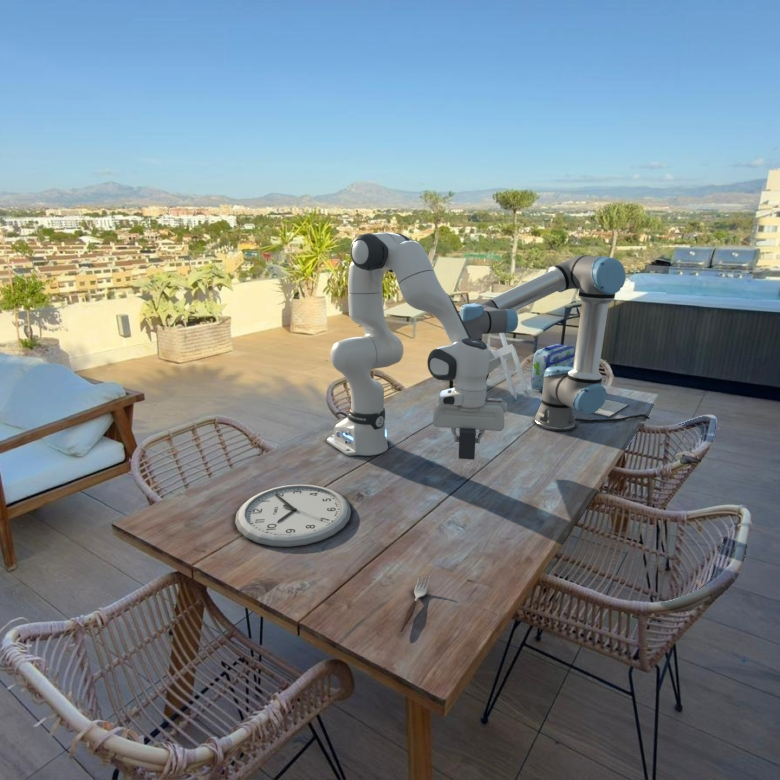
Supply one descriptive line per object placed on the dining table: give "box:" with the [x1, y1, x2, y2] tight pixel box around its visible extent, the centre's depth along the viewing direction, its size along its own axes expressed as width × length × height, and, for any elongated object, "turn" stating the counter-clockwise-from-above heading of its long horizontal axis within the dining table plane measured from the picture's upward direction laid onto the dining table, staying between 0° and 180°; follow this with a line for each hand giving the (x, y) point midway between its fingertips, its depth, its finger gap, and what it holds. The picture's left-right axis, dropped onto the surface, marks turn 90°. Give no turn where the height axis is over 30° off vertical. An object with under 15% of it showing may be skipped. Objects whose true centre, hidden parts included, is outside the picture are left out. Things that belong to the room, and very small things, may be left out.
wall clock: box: [234, 484, 352, 548], centre depth 138 cm, size 30×2×30 cm
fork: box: [400, 573, 431, 633], centre depth 105 cm, size 3×16×2 cm, turn 160°
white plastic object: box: [441, 333, 531, 400], centre depth 245 cm, size 37×45×31 cm
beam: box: [458, 428, 477, 460], centre depth 163 cm, size 36×4×8 cm, turn 172°
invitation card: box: [593, 399, 629, 418], centre depth 226 cm, size 21×1×15 cm
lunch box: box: [530, 343, 576, 392], centre depth 248 cm, size 26×11×21 cm, turn 134°
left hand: (466, 441), depth 151 cm, fingers closed on beam, 4 cm apart
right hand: (465, 419), depth 176 cm, fingers closed on beam, 4 cm apart
